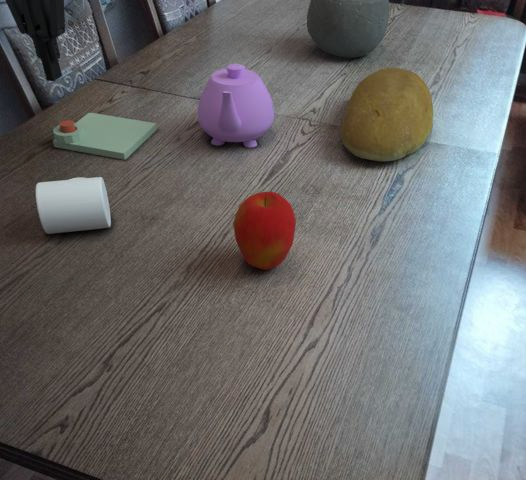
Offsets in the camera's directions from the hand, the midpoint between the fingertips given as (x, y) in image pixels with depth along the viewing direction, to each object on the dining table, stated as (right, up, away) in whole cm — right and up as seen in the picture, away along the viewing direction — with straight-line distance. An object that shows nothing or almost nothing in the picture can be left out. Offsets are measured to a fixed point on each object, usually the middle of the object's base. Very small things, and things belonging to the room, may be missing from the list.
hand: (54, 78), depth 98 cm
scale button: (-1, -5, +11) cm, 12 cm away
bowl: (+60, +32, +51) cm, 84 cm away
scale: (+5, -5, +15) cm, 17 cm away
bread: (+64, -2, +18) cm, 66 cm away
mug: (+7, -27, -6) cm, 28 cm away
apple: (+38, -36, -14) cm, 54 cm away
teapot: (+32, -5, +15) cm, 36 cm away
